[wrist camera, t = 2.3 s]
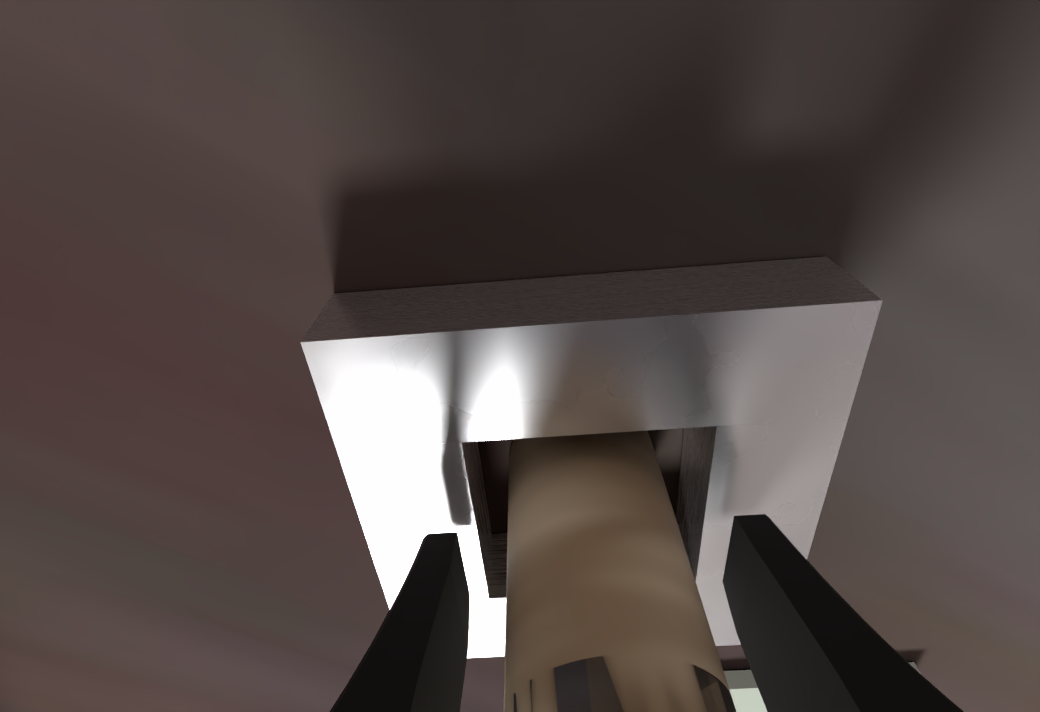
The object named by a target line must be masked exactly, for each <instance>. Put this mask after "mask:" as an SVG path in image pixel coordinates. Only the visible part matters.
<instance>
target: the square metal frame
mask: <svg viewBox="0 0 1040 712" xmlns="http://www.w3.org/2000/svg"><path fill="white" fill-rule="evenodd" d="M882 301H883V300H882V299H880V298H879V297H878V296H876V295H875V294H874V293H873V292H871V291H870V290H869V289H867V288H866V287H865V286H864V285H862V284H861V283H860V282H858V281H857V280H856V279H855V278H853V277H852V276H851V275H849V274H848V273H847V272H846V271H844V270H843V269H842V268H840V267H839V266H838V265H837V264H835V263H834V262H833V261H831V260H830V259H829V258H828V257H826V256H825V257H811V258H798V259H785V260H772V261H759V262H745V263H732V264H719V265H706V266H692V267H679V268H666V269H653V270H640V271H626V272H613V273H600V274H587V275H573V276H560V277H547V278H534V279H520V280H507V281H494V282H481V283H468V284H454V285H441V286H428V287H415V288H401V289H388V290H375V291H362V292H349V293H335V294H333V295H332V296H331V298H330V299H329V301H328V302H327V304H326V305H325V307H324V308H323V310H322V311H321V313H320V314H319V316H318V317H317V319H316V320H315V322H314V323H313V325H312V326H311V328H310V329H309V331H308V332H307V334H306V335H305V337H304V338H303V340H302V341H301V345H302V348H303V351H304V354H305V357H306V360H307V363H308V366H309V369H310V372H311V375H312V378H313V381H314V384H315V387H316V390H317V393H318V396H319V399H320V402H321V405H322V408H323V411H324V414H325V417H326V420H327V423H328V426H329V429H330V432H331V435H332V438H333V441H334V444H335V447H336V450H337V453H338V456H339V459H340V462H341V465H342V468H343V471H344V474H345V477H346V480H347V483H348V486H349V489H350V492H351V495H352V498H353V501H354V504H355V507H356V510H357V513H358V516H359V519H360V522H361V525H362V528H363V531H364V534H365V537H366V540H367V543H368V546H369V549H370V552H371V555H372V558H373V560H374V563H375V566H376V569H377V572H378V575H379V578H380V581H381V584H382V587H383V590H384V593H385V596H386V599H387V602H388V605H389V608H391V606H392V604H393V602H394V601H395V599H396V597H397V595H398V593H399V591H400V588H401V586H402V584H403V582H404V580H405V578H406V576H407V574H408V572H409V570H410V568H411V565H412V563H413V561H414V559H415V556H416V554H417V552H418V549H419V547H420V544H421V542H422V539H423V537H425V536H426V535H427V534H430V533H447V532H457V533H458V538H459V543H460V548H461V553H462V558H463V563H464V568H465V572H466V577H467V582H468V587H469V592H470V613H469V639H468V652H467V658H480V657H501V656H505V628H506V579H507V533H497V534H492V530H491V523H490V517H489V510H488V504H487V498H486V491H485V485H484V478H483V472H482V466H481V459H480V453H479V446H478V441H491V440H507V439H522V438H538V437H553V436H569V435H584V434H600V433H615V432H631V431H646V430H662V429H678V428H684V433H683V444H682V454H681V464H680V475H679V485H678V495H677V506H676V516H675V518H676V521H677V524H678V527H679V530H680V534H681V537H682V540H683V543H684V546H685V550H686V553H687V556H688V559H689V562H690V565H691V569H692V572H693V575H694V578H695V581H696V585H697V588H698V591H699V594H700V597H701V600H702V604H703V607H704V610H705V613H706V616H707V620H708V623H709V626H710V629H711V632H712V636H713V639H714V642H715V645H716V646H725V645H741V643H740V641H739V638H738V635H737V632H736V629H735V625H734V622H733V618H732V615H731V611H730V608H729V604H728V600H727V596H726V593H725V589H724V585H723V576H724V570H725V565H726V559H727V553H728V547H729V542H730V536H731V530H732V525H733V519H734V516H740V515H758V514H766V515H767V516H768V517H769V518H770V519H771V520H772V521H773V522H774V523H775V525H776V526H777V527H778V528H779V529H780V530H781V531H782V533H783V534H784V535H785V536H786V537H787V538H788V539H789V541H790V542H791V543H792V544H793V545H794V546H795V547H796V548H797V550H798V551H799V552H800V553H801V554H802V555H803V556H804V557H805V558H806V560H807V557H808V554H809V551H810V547H811V544H812V540H813V537H814V533H815V530H816V527H817V523H818V520H819V516H820V513H821V509H822V506H823V503H824V499H825V496H826V492H827V489H828V486H829V482H830V479H831V475H832V472H833V468H834V465H835V462H836V458H837V455H838V451H839V448H840V444H841V441H842V438H843V434H844V431H845V427H846V424H847V421H848V417H849V414H850V410H851V407H852V403H853V400H854V397H855V393H856V390H857V386H858V383H859V379H860V376H861V373H862V369H863V366H864V362H865V359H866V356H867V352H868V349H869V345H870V342H871V338H872V335H873V332H874V328H875V325H876V321H877V318H878V314H879V311H880V308H881V304H882Z"/></svg>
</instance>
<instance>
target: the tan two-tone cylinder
mask: <svg viewBox="0 0 1040 712" xmlns="http://www.w3.org/2000/svg"><path fill="white" fill-rule="evenodd" d="M504 712H736V709H735V706H734V702H733V699H732V696H731V693H730V690H729V686H728V683H727V680H726V677H725V674H724V671H723V667H722V664H721V661H720V658H719V655H718V651H717V648H716V645H715V642H714V639H713V636H712V632H711V629H710V626H709V623H708V620H707V616H706V613H705V610H704V607H703V604H702V600H701V597H700V594H699V591H698V588H697V585H696V581H695V578H694V575H693V572H692V569H691V565H690V562H689V559H688V556H687V553H686V550H685V546H684V543H683V540H682V537H681V534H680V530H679V527H678V524H677V521H676V518H675V515H674V511H673V508H672V505H671V502H670V499H669V495H668V492H667V489H666V486H665V483H664V479H663V476H662V473H661V470H660V467H659V464H658V460H657V457H656V454H655V451H654V448H653V444H652V441H651V439H650V436H649V434H648V432H647V430H646V431H631V432H615V433H600V434H584V435H569V436H553V437H538V438H522V439H514V440H513V442H512V445H511V448H510V453H509V483H508V531H507V579H506V628H505V676H504Z"/></svg>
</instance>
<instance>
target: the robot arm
mask: <svg viewBox="0 0 1040 712" xmlns="http://www.w3.org/2000/svg"><path fill="white" fill-rule="evenodd" d="M723 585H724V589H725V593H726V596H727V600H728V604H729V608H730V611H731V615H732V618H733V622H734V625H735V629H736V632H737V635H738V638H739V641H740V643H741V646H742V648H743V651H744V654H745V656H746V659H747V661H748V664H749V666H750V669H751V671H752V674H753V677H754V679H755V682H756V684H757V687H758V689H759V692H760V694H761V697H762V699H763V702H764V704H765V707H766V709H767V712H963V711H962V710H961V709H960V708H959V707H957V706H956V705H955V704H954V703H953V702H952V701H950V700H949V699H948V698H947V697H946V696H945V695H943V694H942V693H941V692H940V691H939V690H938V689H937V688H936V687H934V686H933V685H932V684H931V683H930V682H929V681H928V680H927V679H925V678H924V677H923V676H922V675H921V674H920V673H919V672H918V671H917V670H916V669H915V668H913V667H912V666H911V665H910V664H909V663H908V662H907V661H906V660H905V659H904V658H903V657H902V656H901V655H900V654H898V653H897V652H896V651H895V650H894V649H893V648H892V647H891V646H890V645H889V644H888V643H887V642H886V641H885V640H884V639H883V638H882V637H881V636H880V635H879V634H878V633H877V632H876V631H875V630H874V629H873V628H872V627H870V626H869V625H868V624H867V623H866V622H865V621H864V620H863V619H862V618H861V616H860V615H859V614H858V613H857V612H856V611H855V610H854V609H853V608H852V607H851V606H850V605H849V604H848V603H847V602H846V601H845V600H844V599H843V598H842V597H841V596H840V595H839V594H838V593H837V592H836V591H835V590H834V589H833V588H832V587H831V586H830V584H829V583H828V582H827V581H826V580H825V579H824V578H823V577H822V576H821V575H820V574H819V573H818V572H817V570H816V569H815V568H814V567H813V566H812V565H811V564H810V563H809V562H808V561H807V560H806V558H805V557H804V556H803V555H802V554H801V553H800V552H799V551H798V550H797V548H796V547H795V546H794V545H793V544H792V543H791V542H790V541H789V539H788V538H787V537H786V536H785V535H784V534H783V533H782V531H781V530H780V529H779V528H778V527H777V526H776V525H775V523H774V522H773V521H772V520H771V519H770V518H769V517H768V516H767V515H766V514H758V515H740V516H734V519H733V525H732V530H731V536H730V542H729V547H728V553H727V559H726V565H725V570H724V576H723ZM469 613H470V592H469V587H468V582H467V577H466V572H465V568H464V563H463V558H462V553H461V548H460V543H459V538H458V533H457V532H447V533H430V534H427V535H426V536H425V537H423V539H422V542H421V544H420V547H419V549H418V552H417V554H416V556H415V559H414V561H413V563H412V565H411V568H410V570H409V572H408V574H407V576H406V578H405V580H404V582H403V584H402V586H401V588H400V591H399V593H398V595H397V597H396V599H395V601H394V602H393V604H392V606H391V608H390V610H389V612H388V614H387V616H386V618H385V619H384V621H383V623H382V625H381V627H380V629H379V631H378V633H377V634H376V636H375V638H374V640H373V642H372V643H371V645H370V647H369V648H368V650H367V652H366V654H365V655H364V657H363V659H362V660H361V662H360V664H359V665H358V667H357V669H356V670H355V672H354V674H353V675H352V677H351V679H350V680H349V682H348V684H347V685H346V687H345V689H344V690H343V692H342V693H341V695H340V696H339V698H338V700H337V701H336V703H335V704H334V706H333V707H332V709H331V710H330V712H460V704H461V697H462V690H463V682H464V675H465V668H466V660H467V652H468V639H469Z"/></svg>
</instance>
